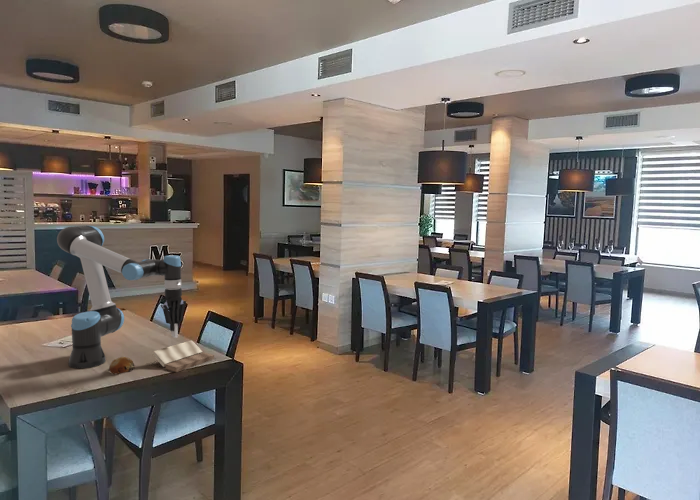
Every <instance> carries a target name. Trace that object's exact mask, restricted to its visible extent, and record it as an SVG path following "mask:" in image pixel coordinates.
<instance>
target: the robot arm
mask: <svg viewBox="0 0 700 500" xmlns="http://www.w3.org/2000/svg"><path fill="white" fill-rule="evenodd" d="M56 241H57V246H58V247H59V248H60V249H61V250H62V251H64V252H66V253H68V254H70V255H72V256H76V257H77V258H79V259H80V263H81V267H82V270H83V274H84V278H85V282H86V287H87V290H88V294H89V299H90V302H91V308H90V309H89V311H85V312H83V311H82V312H80V313H77V314H75V315H74V316H73V317H72V318H71V323H70V324H71V325H70V327H71V340H72V341H71V343H72V349H71V353H70V356H69V359H68V366H69V367H70V368H73V369H87V368H88V369H89V368H93V367H94V368H95V367H97V366H100V365H102V364H103V365H104V364H105V362H106V360H107V359H106V355H105V352H104V350H103V347H102V339H101V337H104V336H106V335H109V334H112V333H115V332H116V331H119V330H120V329H121V328H122V326H123V325H124V322H125V316H124V313H123V311H122V310H121V309H120V308H118V307H117V304H116V303H115V302H114V301H112V299H111V295H110V290H109V287H108V282H107V278H106V275H105V271H104V267H106V268H108V269H110V270H113V271H116V273H117V272H118V273H120V274H122V276H123V278H124V279H125V280H127V281H138V280H141V279H145V278H149V277H153V276H163V277H164V297H165V300H164V303H163V304H160V307H161V309H162V312H163V316H164V319H165V323H166V324H169V328H170V329H169V330H170V332H171V333H170V334H171V337H172V338H174V339H176V338H177V339H178V338H179V332H178V331H179V329H180V328H179V327H180V326H179V325H180V323H181V322H182V321H183V318H184V317H183V316H184V311H185V305H186V304H187V301H186V300H183V297H182V296H183V292H182V291H183V289H182V285H183V284H182V261H181V260H182V259H181V256H180V255H173V254H172V255H164V256H163V259H151V258H149V259H147V258H146V259H142V260H141V261H136V260H134V259H131V258H130V257H126V256H125V255H123V254H121V253H120V254H119V252H118V253H117V252H115V251H114V250H111V249H108V248H106V247H105V246H103V245H104V243H105V236H104V234H103V231H102V230H101V229H100V228H98V227H96V226H93V225H77V226H76V225H75V226H66V227H64V228H62V229H61V230H60V231H59V232H58V233H57V237H56ZM103 266H104V267H103Z"/></svg>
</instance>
